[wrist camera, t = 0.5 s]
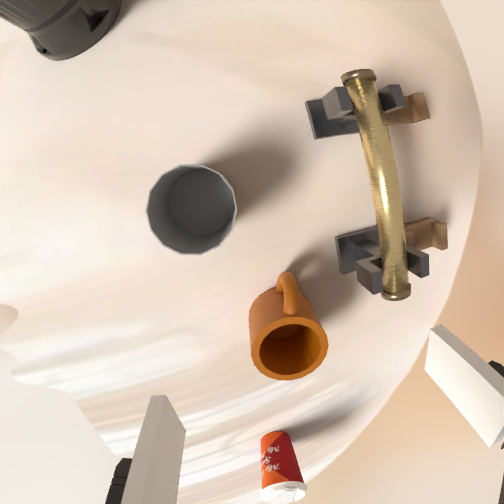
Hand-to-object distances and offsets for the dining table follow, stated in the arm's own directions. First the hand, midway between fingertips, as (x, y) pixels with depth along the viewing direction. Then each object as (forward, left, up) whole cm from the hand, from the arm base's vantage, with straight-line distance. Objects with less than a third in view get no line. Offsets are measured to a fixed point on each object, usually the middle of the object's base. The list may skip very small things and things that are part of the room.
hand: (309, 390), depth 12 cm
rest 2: (+3, +22, -26) cm, 34 cm away
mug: (+8, +1, -26) cm, 27 cm away
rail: (-6, +14, -18) cm, 23 cm away
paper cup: (+37, -5, -26) cm, 45 cm away
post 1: (-15, +14, -26) cm, 33 cm away
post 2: (+3, +14, -26) cm, 29 cm away
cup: (-8, -5, -26) cm, 28 cm away
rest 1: (-15, +22, -26) cm, 37 cm away
